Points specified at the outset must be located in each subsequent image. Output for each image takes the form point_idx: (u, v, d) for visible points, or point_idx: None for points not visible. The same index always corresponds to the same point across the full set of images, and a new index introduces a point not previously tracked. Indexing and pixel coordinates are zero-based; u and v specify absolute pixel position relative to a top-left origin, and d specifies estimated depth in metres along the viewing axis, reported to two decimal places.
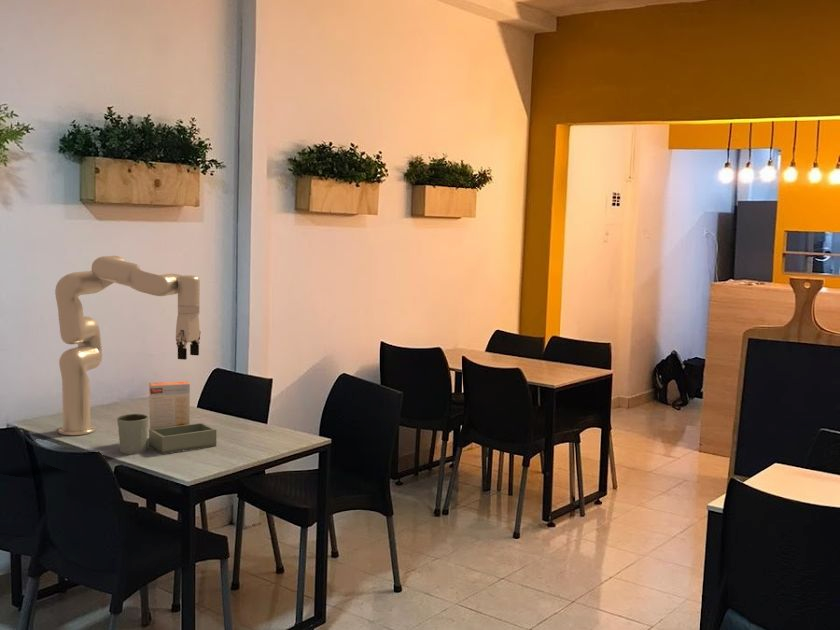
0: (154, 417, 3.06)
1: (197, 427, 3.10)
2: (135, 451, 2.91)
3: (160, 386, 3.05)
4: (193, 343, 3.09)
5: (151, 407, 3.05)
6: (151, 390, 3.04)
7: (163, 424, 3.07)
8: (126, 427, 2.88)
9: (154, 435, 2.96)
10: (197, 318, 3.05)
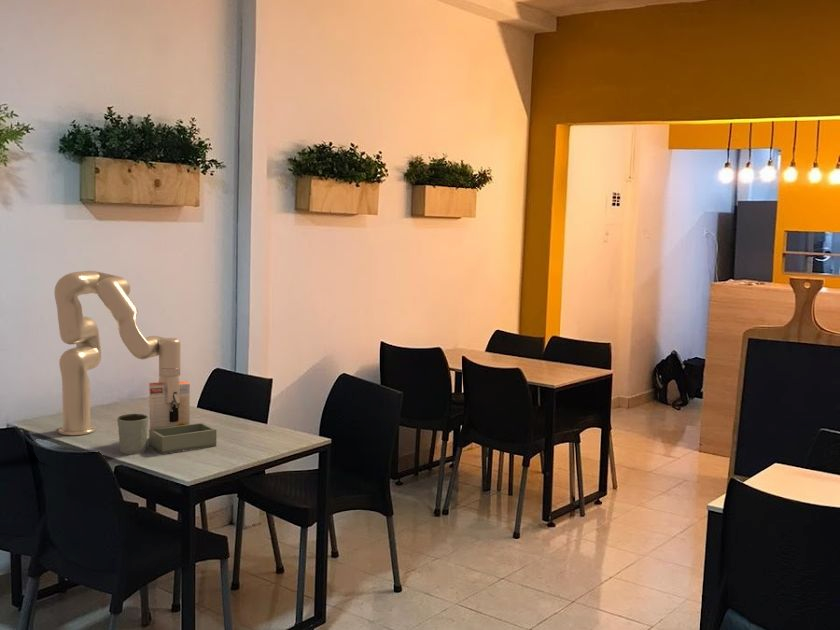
0: (154, 417, 3.06)
1: (197, 427, 3.10)
2: (135, 451, 2.91)
3: (160, 386, 3.05)
4: None
5: (151, 407, 3.05)
6: (151, 390, 3.04)
7: (163, 424, 3.07)
8: (126, 427, 2.88)
9: (154, 435, 2.96)
10: None
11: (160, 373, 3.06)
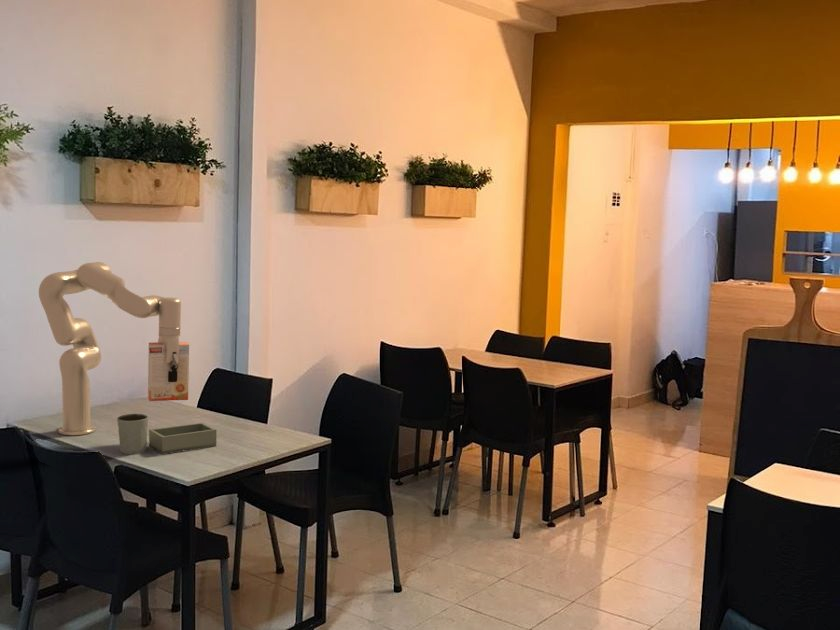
0: (152, 377, 3.04)
1: (197, 427, 3.10)
2: (135, 451, 2.91)
3: (159, 346, 3.04)
4: None
5: (150, 366, 3.03)
6: (150, 349, 3.03)
7: (162, 384, 3.06)
8: (126, 427, 2.88)
9: (154, 435, 2.96)
10: None
11: (160, 332, 3.04)
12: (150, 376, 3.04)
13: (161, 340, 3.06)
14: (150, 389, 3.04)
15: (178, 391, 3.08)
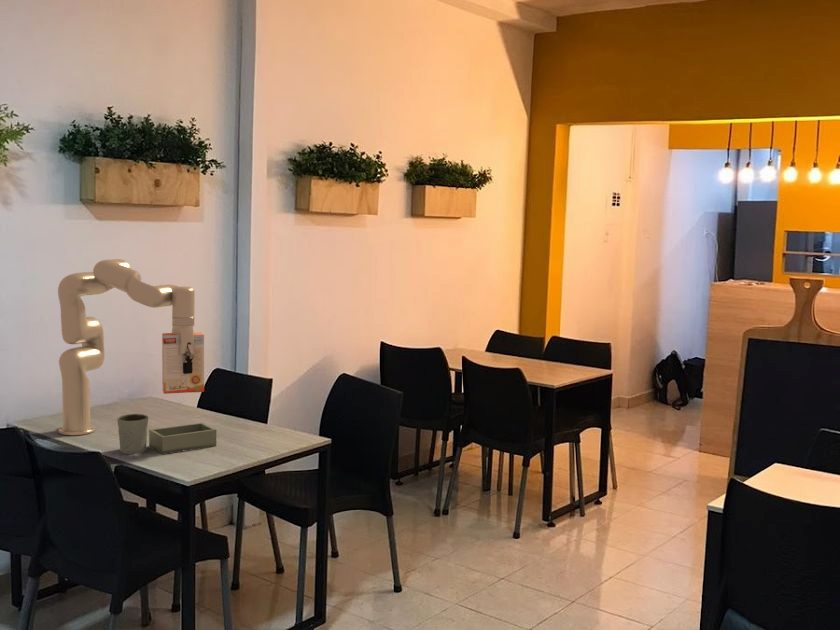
0: (167, 368, 2.94)
1: (197, 427, 3.10)
2: (135, 451, 2.91)
3: (174, 336, 2.94)
4: None
5: (164, 358, 2.94)
6: (164, 340, 2.93)
7: (177, 376, 2.96)
8: (126, 427, 2.88)
9: (154, 435, 2.96)
10: None
11: (173, 323, 2.94)
12: (164, 368, 2.94)
13: (175, 331, 2.96)
14: (165, 381, 2.94)
15: (193, 383, 2.98)
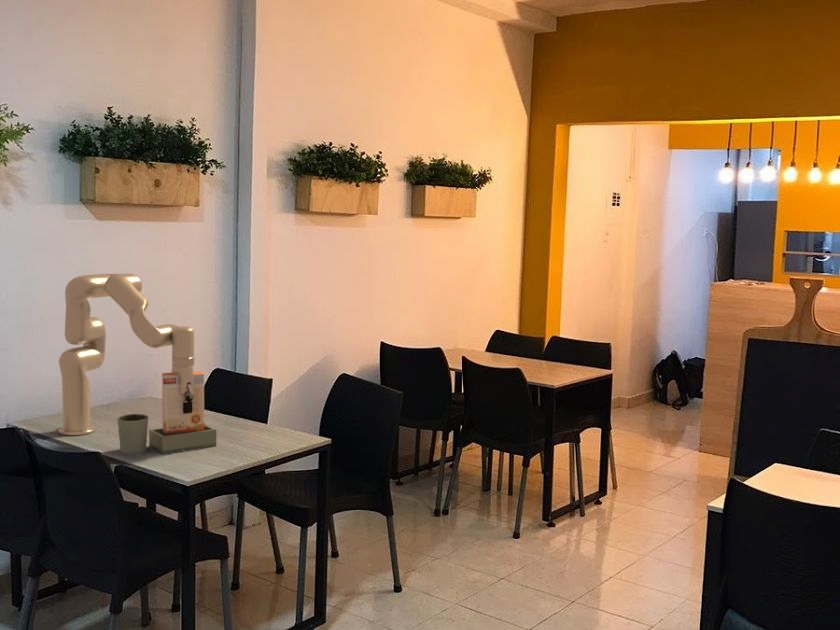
0: (167, 408, 2.96)
1: None
2: (135, 451, 2.91)
3: (173, 376, 2.95)
4: None
5: (164, 398, 2.95)
6: (164, 380, 2.94)
7: (177, 416, 2.97)
8: (126, 427, 2.88)
9: (154, 435, 2.96)
10: None
11: (173, 363, 2.96)
12: (165, 408, 2.96)
13: (175, 370, 2.98)
14: (165, 421, 2.96)
15: (193, 422, 3.00)
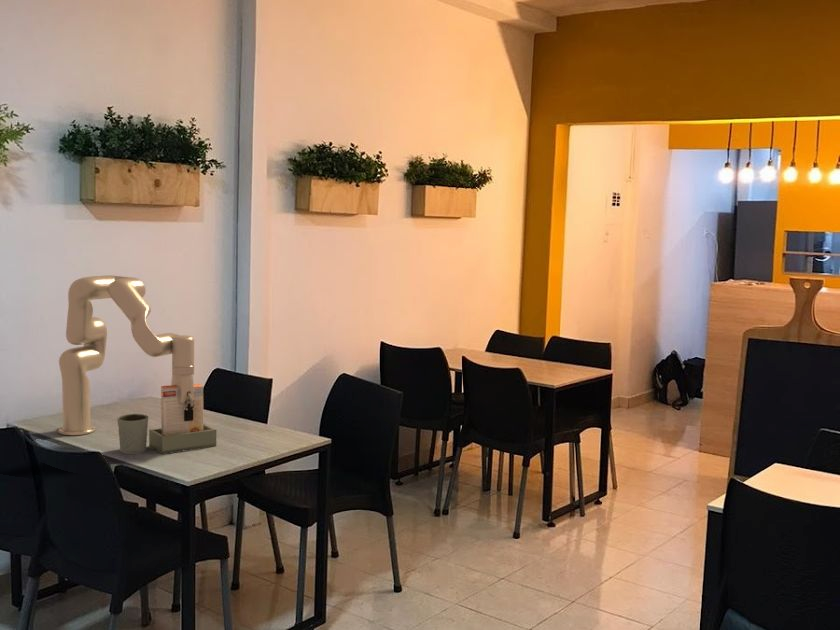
0: (166, 421, 2.96)
1: None
2: (135, 451, 2.91)
3: (173, 389, 2.96)
4: None
5: (164, 411, 2.96)
6: (164, 393, 2.95)
7: (176, 428, 2.98)
8: (126, 427, 2.88)
9: (154, 435, 2.96)
10: None
11: (173, 372, 2.96)
12: (164, 421, 2.96)
13: (175, 379, 2.98)
14: (165, 434, 2.97)
15: None
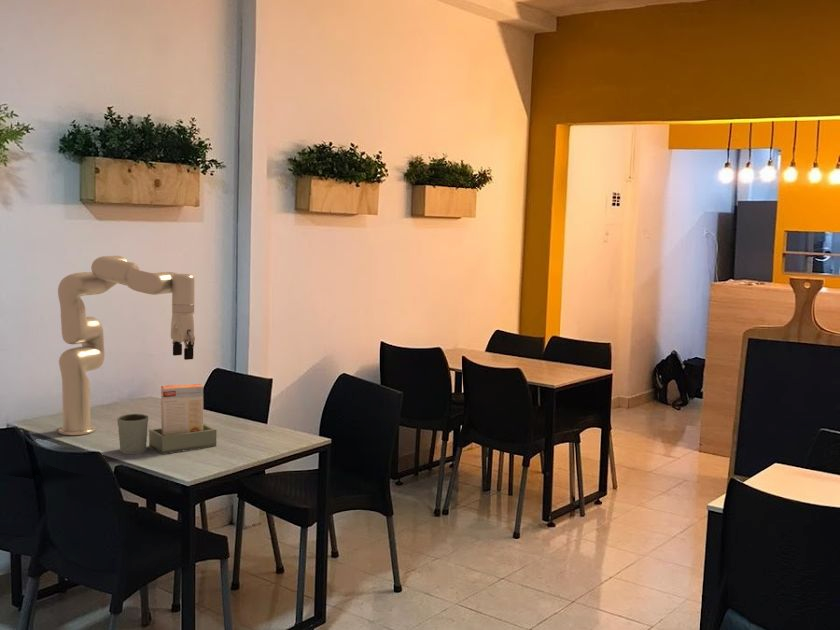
0: (166, 421, 2.96)
1: None
2: (135, 451, 2.91)
3: (173, 389, 2.96)
4: (176, 343, 3.01)
5: (164, 411, 2.96)
6: (164, 393, 2.95)
7: (176, 428, 2.98)
8: (126, 427, 2.88)
9: (154, 435, 2.96)
10: None
11: (173, 310, 2.94)
12: (164, 421, 2.96)
13: (175, 318, 2.95)
14: (165, 434, 2.97)
15: None
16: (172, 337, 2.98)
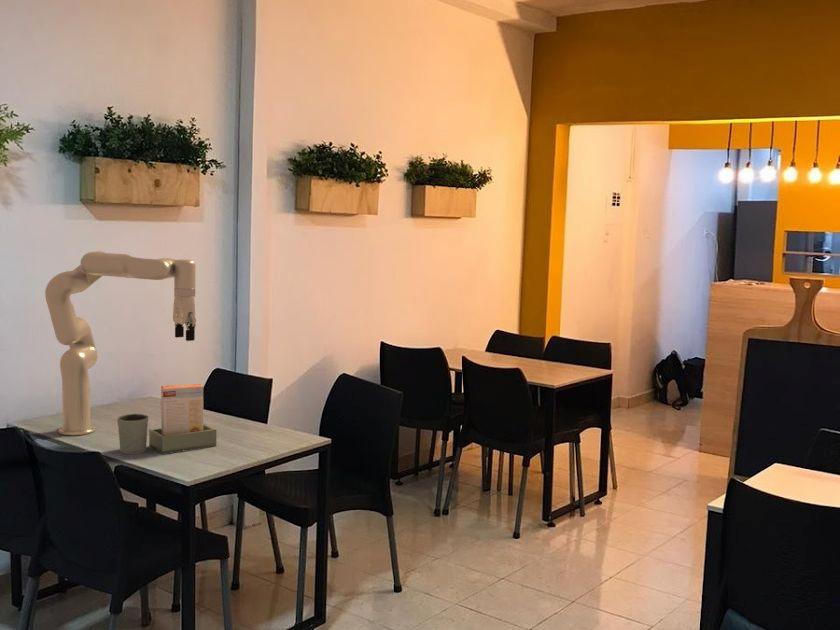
0: (166, 421, 2.96)
1: None
2: (135, 451, 2.91)
3: (173, 389, 2.96)
4: (178, 325, 3.17)
5: (164, 411, 2.96)
6: (164, 393, 2.95)
7: (176, 428, 2.98)
8: (126, 427, 2.88)
9: (154, 435, 2.96)
10: None
11: (175, 293, 3.09)
12: (164, 421, 2.96)
13: (177, 301, 3.11)
14: (165, 434, 2.97)
15: None
16: (174, 320, 3.13)
